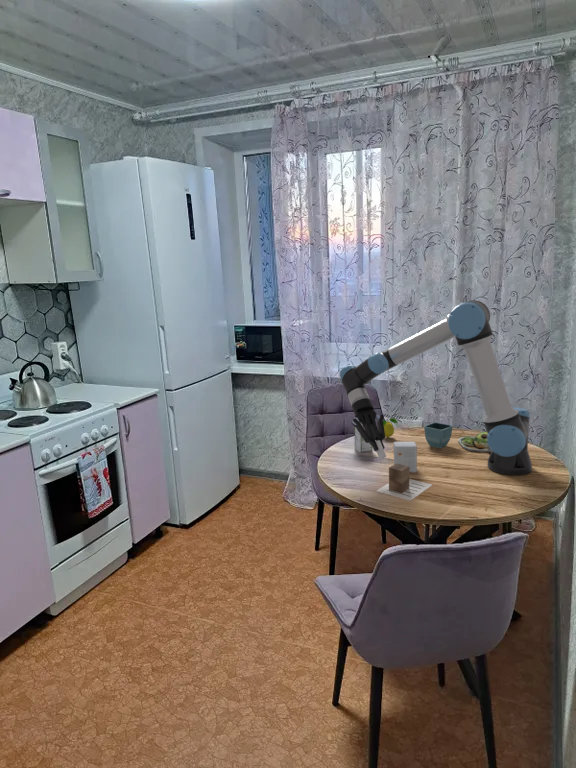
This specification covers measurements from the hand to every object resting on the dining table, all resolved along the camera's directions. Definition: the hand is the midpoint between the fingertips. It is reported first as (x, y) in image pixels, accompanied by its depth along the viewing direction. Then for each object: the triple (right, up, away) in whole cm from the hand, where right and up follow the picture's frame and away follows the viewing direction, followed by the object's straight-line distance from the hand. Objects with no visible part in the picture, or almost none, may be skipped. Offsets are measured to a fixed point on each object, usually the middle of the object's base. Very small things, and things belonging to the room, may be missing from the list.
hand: (383, 458), depth 182 cm
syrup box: (-2, -2, +34) cm, 34 cm away
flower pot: (+30, 0, +35) cm, 46 cm away
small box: (+10, -6, +10) cm, 16 cm away
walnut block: (+4, -10, -7) cm, 13 cm away
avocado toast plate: (+48, 0, +34) cm, 58 cm away
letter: (+6, -10, -6) cm, 13 cm away
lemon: (+11, +2, +48) cm, 50 cm away
